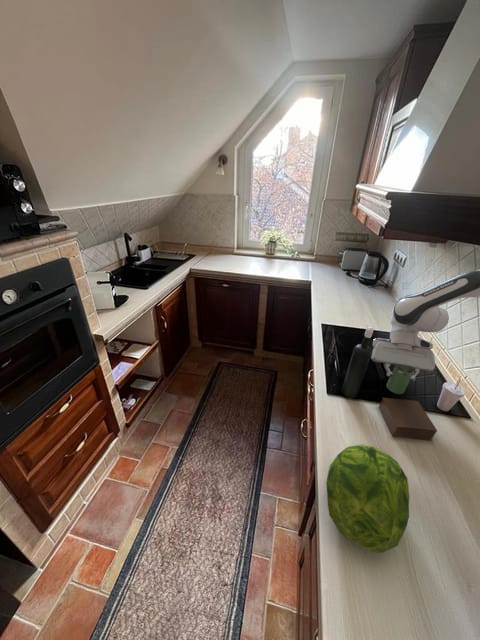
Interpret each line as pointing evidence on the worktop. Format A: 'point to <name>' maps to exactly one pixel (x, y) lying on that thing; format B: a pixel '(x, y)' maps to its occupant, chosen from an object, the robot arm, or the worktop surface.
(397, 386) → the green tin
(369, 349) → the wine bottle
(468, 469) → the worktop surface
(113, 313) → the worktop surface
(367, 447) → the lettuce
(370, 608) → the worktop surface
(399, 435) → the walnut block
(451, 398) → the smoothie
